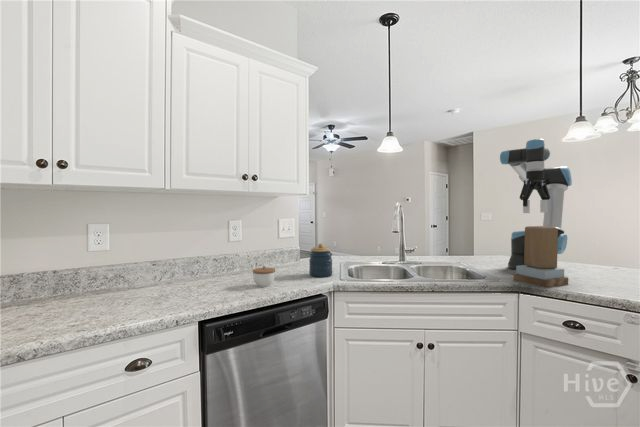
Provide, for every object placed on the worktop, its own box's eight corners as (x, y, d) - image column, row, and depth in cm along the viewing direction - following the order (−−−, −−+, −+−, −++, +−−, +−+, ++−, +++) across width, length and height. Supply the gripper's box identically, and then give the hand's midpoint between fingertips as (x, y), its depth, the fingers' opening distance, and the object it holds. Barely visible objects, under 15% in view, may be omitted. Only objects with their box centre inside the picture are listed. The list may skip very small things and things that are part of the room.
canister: (327, 272, 179) (327, 242, 179) (335, 276, 167) (335, 244, 167) (306, 273, 175) (306, 242, 175) (313, 278, 163) (312, 245, 163)
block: (541, 264, 158) (542, 226, 157) (558, 268, 148) (558, 227, 147) (523, 265, 157) (523, 226, 157) (538, 269, 147) (539, 227, 147)
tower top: (535, 271, 161) (535, 264, 161) (564, 277, 148) (564, 268, 148) (516, 273, 156) (516, 265, 156) (544, 279, 143) (544, 271, 143)
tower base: (534, 278, 162) (534, 271, 162) (568, 285, 148) (568, 277, 147) (513, 281, 157) (513, 273, 156) (546, 289, 142) (546, 280, 142)
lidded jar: (264, 289, 141) (264, 269, 141) (248, 286, 147) (247, 266, 146) (279, 284, 150) (279, 265, 150) (263, 281, 156) (263, 263, 156)
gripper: (542, 172, 163) (542, 212, 163) (511, 170, 153) (511, 213, 154) (558, 170, 156) (558, 212, 156) (526, 169, 146) (526, 213, 147)
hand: (535, 212), depth 155 cm, fingers open, 13 cm apart
